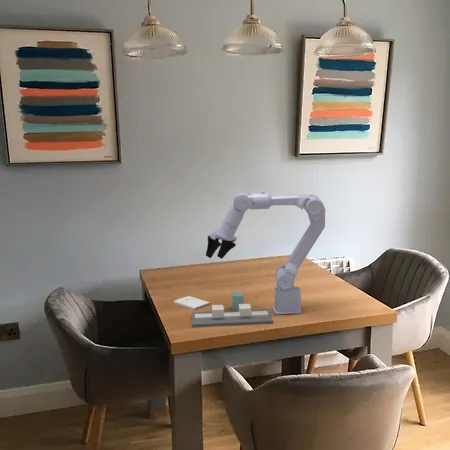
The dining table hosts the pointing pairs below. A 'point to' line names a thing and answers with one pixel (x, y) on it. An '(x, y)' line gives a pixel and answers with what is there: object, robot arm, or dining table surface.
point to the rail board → (231, 316)
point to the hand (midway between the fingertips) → (213, 257)
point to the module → (236, 300)
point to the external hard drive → (192, 303)
